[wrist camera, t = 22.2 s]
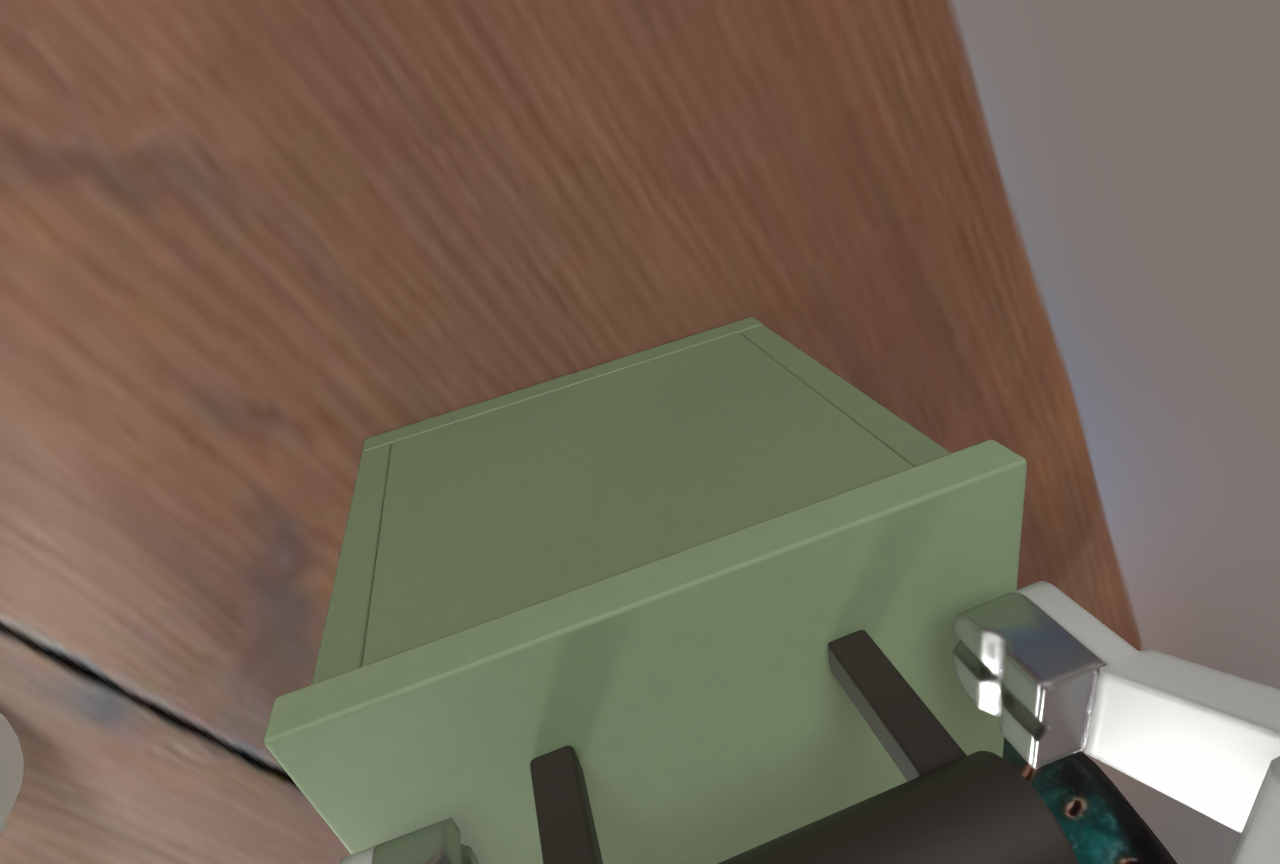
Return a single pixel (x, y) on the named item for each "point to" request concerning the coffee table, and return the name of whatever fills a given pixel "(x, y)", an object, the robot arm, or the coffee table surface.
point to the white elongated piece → (9, 770)
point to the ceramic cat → (1091, 811)
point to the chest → (593, 482)
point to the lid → (709, 702)
